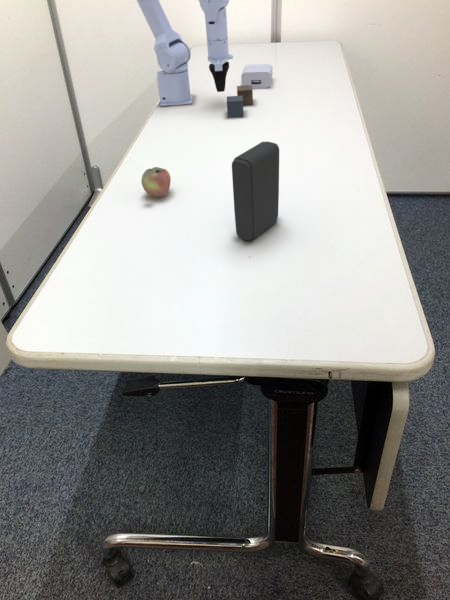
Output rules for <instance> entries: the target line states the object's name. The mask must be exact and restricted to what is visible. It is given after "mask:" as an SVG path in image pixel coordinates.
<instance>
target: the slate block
mask: <svg viewBox="0 0 450 600" xmlns="http://www.w3.org/2000/svg"><path fill="white" fill-rule="evenodd" d="M226 110H227V111H226V112H227V118H228V119H229V118H230V119H234V118H244V116H245V115H244V106H243V96H237V95H230V96H229V95H228V96H226Z"/></svg>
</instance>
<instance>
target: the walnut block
mask: <svg viewBox="0 0 450 600" xmlns="http://www.w3.org/2000/svg"><path fill="white" fill-rule="evenodd" d="M253 91H254V90H253V88H252V85H245V86H242V85H236V96H243V107H247V106H249V107H250V106H253V105H254V97H253V96H254V95H253V94H254V93H253Z"/></svg>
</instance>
